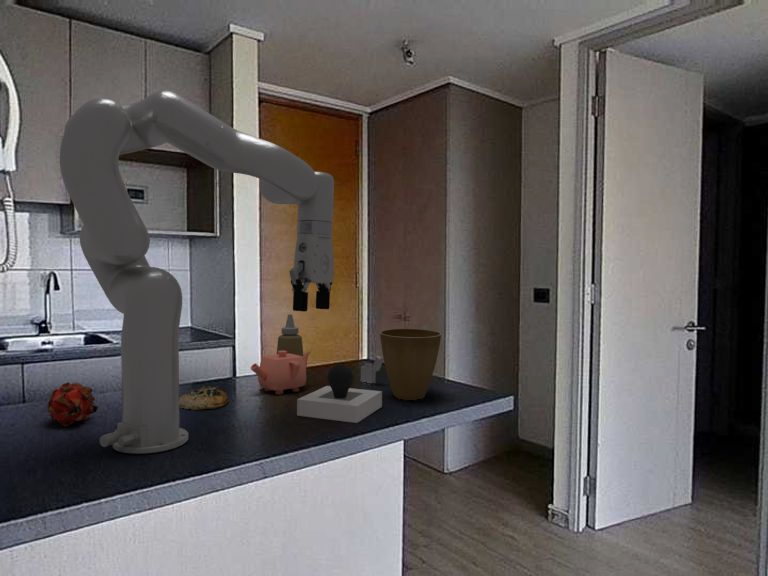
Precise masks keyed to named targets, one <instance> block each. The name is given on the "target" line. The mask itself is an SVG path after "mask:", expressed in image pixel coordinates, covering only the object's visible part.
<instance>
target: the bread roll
mask: <svg viewBox="0 0 768 576" xmlns="http://www.w3.org/2000/svg"><path fill="white" fill-rule="evenodd" d="M228 403H229V397H228V395H227V392H225V391H223V390H221V389H220V388H219V386H218V385H217V386H215V387H212V386H207V387H206V385H205V386H201V387H200V388H198V389H197V388H195V389H191V390H190V391H189V392H187V393H185V394H183V395H181V396H179V409H182V408H184V410H188V409H191V410H190V411H201V410H202V411H203V409H204V410H206V409H207V410H208V409H210V410H213V409H216V410H217V409H220V408H223V407H225V406H226V405H228Z"/></svg>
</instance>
